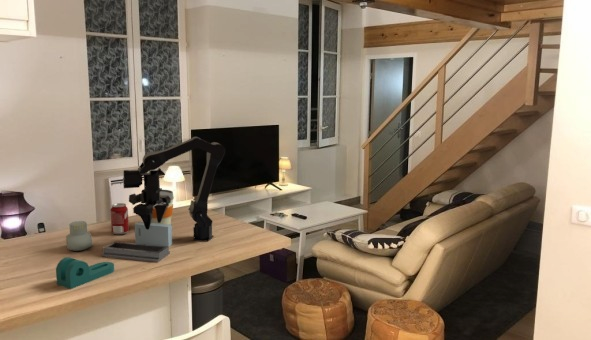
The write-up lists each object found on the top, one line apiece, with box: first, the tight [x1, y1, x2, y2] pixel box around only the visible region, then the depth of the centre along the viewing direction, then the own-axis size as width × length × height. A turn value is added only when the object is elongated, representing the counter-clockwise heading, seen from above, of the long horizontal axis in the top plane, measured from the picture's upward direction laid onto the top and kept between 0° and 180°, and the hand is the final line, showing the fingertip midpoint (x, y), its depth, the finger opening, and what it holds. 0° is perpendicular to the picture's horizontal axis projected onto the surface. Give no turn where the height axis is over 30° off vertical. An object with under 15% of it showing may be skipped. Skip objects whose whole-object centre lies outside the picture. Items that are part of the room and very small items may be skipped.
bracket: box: [55, 256, 115, 290], centre depth 158 cm, size 18×7×8 cm, turn 150°
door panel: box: [134, 221, 173, 248], centre depth 191 cm, size 14×3×8 cm, turn 78°
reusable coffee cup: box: [144, 189, 175, 225], centre depth 213 cm, size 13×13×15 cm
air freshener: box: [65, 220, 93, 252], centre depth 184 cm, size 11×8×10 cm
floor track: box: [101, 241, 171, 263], centre depth 179 cm, size 22×9×3 cm, turn 78°
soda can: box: [109, 202, 130, 236], centre depth 203 cm, size 7×7×12 cm
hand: (153, 225), depth 190 cm, fingers open, 9 cm apart
